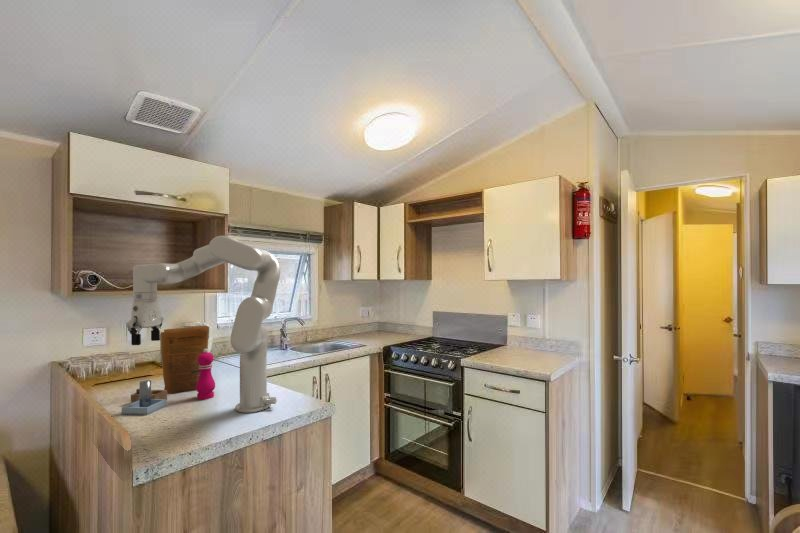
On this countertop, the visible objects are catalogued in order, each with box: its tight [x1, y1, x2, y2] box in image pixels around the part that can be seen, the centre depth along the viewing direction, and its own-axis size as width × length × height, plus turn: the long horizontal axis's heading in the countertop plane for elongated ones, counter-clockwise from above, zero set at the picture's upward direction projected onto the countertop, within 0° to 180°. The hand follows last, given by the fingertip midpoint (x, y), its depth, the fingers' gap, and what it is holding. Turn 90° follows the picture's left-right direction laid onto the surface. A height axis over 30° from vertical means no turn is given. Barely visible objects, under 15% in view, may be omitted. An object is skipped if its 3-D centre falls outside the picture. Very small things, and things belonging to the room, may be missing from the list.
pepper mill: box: [195, 349, 216, 400], centre depth 161 cm, size 7×7×20 cm
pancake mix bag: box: [159, 325, 210, 394], centre depth 171 cm, size 7×19×28 cm, turn 120°
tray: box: [121, 398, 168, 416], centre depth 146 cm, size 10×10×2 cm
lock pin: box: [138, 379, 152, 407], centre depth 146 cm, size 4×4×10 cm
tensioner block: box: [130, 388, 168, 404], centre depth 155 cm, size 10×7×6 cm
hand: (146, 342), depth 147 cm, fingers open, 9 cm apart
